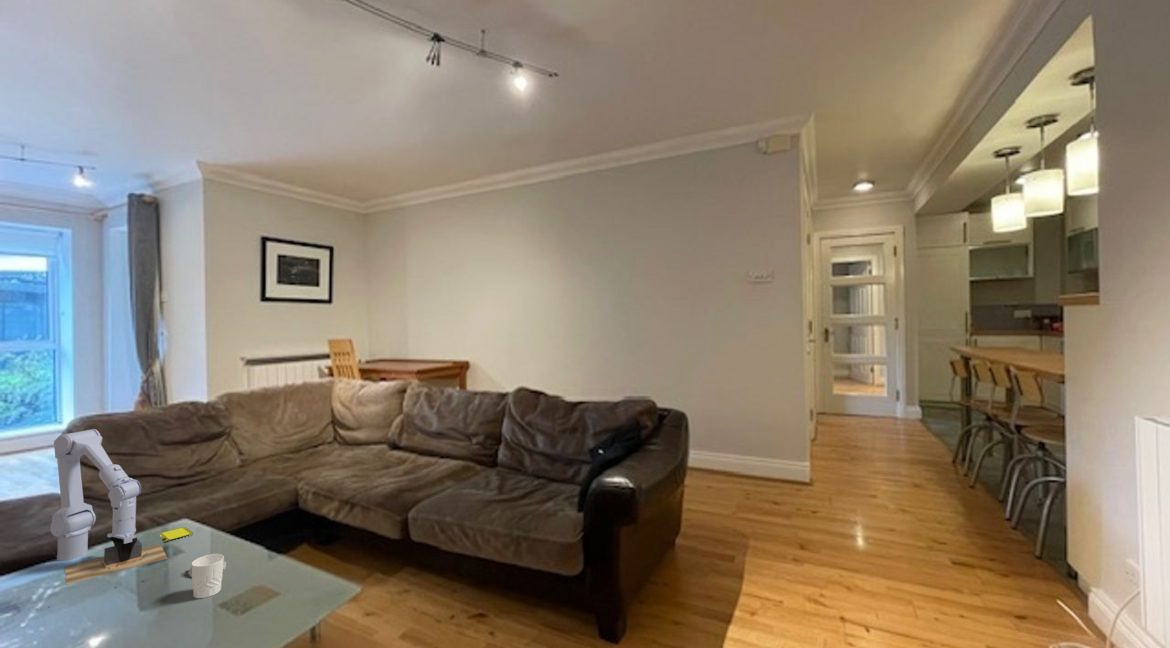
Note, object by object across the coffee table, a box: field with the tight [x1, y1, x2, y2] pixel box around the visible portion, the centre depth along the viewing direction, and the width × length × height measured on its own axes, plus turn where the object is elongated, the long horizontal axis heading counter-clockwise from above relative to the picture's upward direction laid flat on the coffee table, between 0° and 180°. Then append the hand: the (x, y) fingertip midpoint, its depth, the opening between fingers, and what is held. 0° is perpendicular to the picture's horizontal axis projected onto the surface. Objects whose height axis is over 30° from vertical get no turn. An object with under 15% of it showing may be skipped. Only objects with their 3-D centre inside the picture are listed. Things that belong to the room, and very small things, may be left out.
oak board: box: [64, 543, 169, 585], centre depth 165 cm, size 16×24×1 cm, turn 138°
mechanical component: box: [187, 553, 227, 578], centre depth 163 cm, size 10×4×10 cm
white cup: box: [191, 553, 225, 599], centre depth 150 cm, size 8×8×10 cm
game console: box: [152, 526, 194, 544], centre depth 186 cm, size 18×11×2 cm, turn 147°
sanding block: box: [103, 539, 143, 568], centre depth 166 cm, size 5×9×5 cm, turn 142°
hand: (123, 558), depth 166 cm, fingers closed on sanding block, 5 cm apart
